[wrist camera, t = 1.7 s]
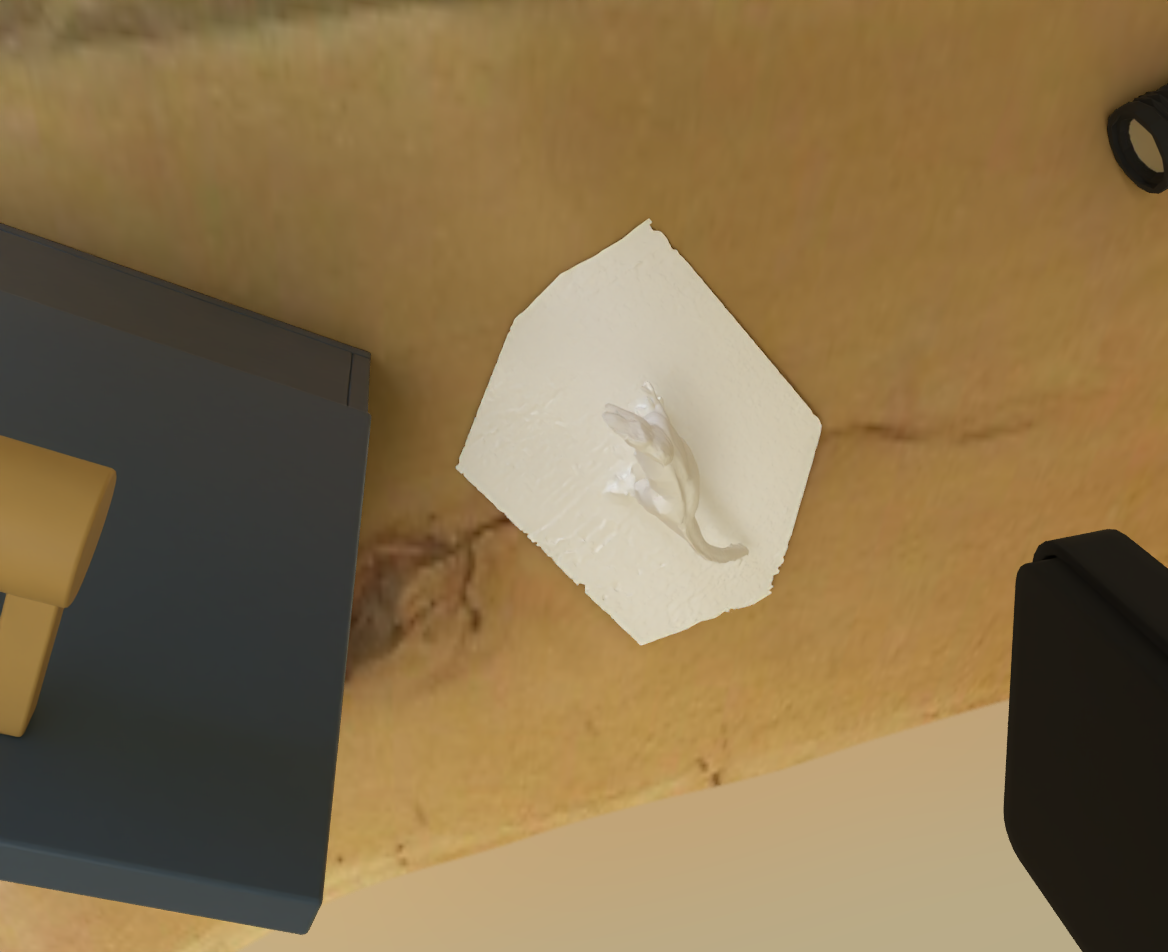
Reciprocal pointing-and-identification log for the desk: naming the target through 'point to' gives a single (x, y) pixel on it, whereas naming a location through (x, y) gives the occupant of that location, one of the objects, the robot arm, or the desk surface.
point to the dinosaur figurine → (644, 440)
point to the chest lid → (170, 621)
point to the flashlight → (1142, 139)
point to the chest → (181, 318)
